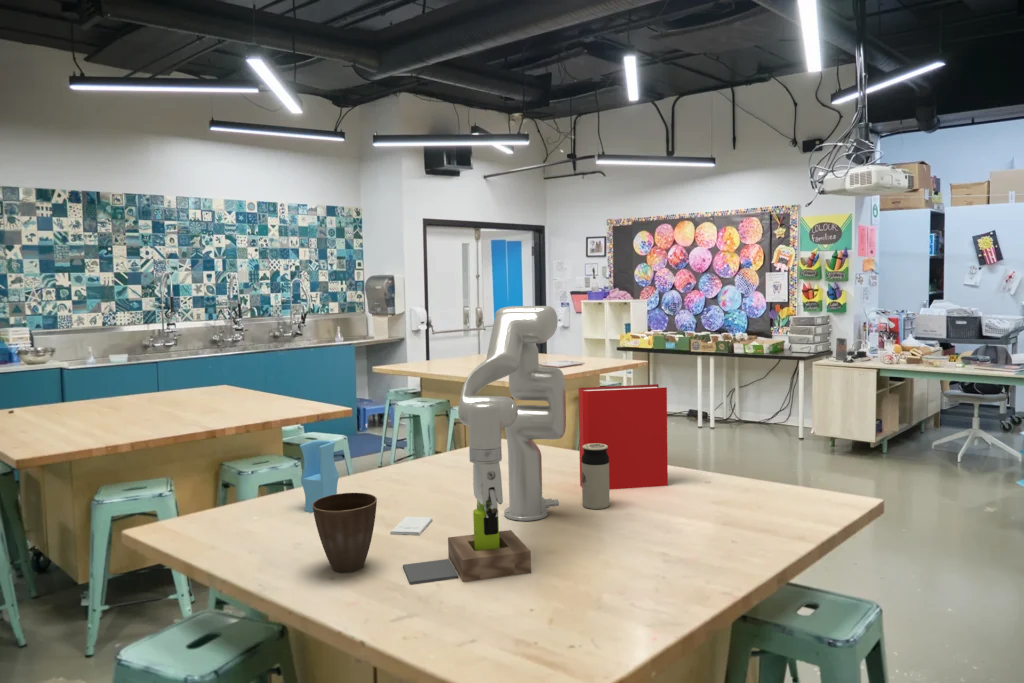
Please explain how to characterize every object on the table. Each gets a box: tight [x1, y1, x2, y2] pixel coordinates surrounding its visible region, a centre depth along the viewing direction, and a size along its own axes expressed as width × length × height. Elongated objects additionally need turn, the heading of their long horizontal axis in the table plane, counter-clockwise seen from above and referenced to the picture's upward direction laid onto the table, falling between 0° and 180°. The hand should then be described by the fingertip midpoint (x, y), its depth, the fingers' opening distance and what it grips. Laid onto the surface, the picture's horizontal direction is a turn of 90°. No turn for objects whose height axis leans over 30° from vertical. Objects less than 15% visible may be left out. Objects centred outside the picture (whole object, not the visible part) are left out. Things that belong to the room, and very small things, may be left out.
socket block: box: [447, 529, 532, 582], centre depth 179 cm, size 16×16×5 cm
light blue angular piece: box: [299, 439, 340, 513], centre depth 228 cm, size 8×8×20 cm
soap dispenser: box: [472, 501, 500, 551], centre depth 179 cm, size 6×7×20 cm
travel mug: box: [581, 443, 611, 510], centre depth 224 cm, size 8×8×18 cm
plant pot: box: [312, 492, 378, 574], centre depth 180 cm, size 15×15×16 cm
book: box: [578, 383, 669, 491], centre depth 246 cm, size 27×8×32 cm, turn 98°
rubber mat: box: [402, 558, 459, 585], centre depth 176 cm, size 11×11×1 cm
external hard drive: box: [390, 516, 433, 536], centre depth 209 cm, size 2×8×12 cm
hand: (487, 529), depth 179 cm, fingers closed on soap dispenser, 5 cm apart
